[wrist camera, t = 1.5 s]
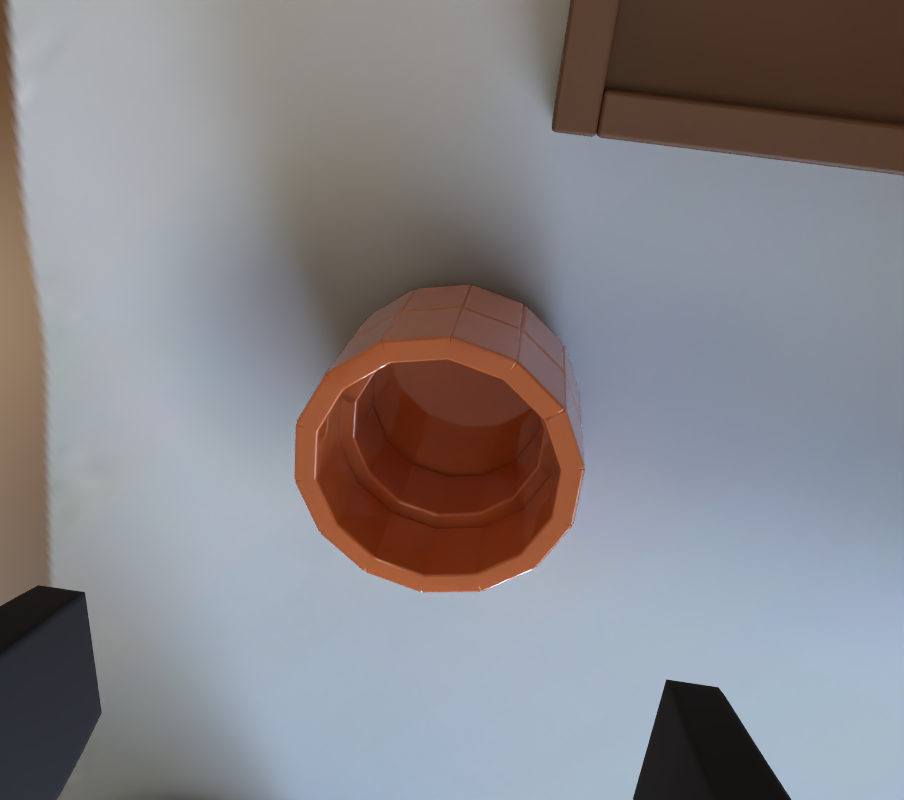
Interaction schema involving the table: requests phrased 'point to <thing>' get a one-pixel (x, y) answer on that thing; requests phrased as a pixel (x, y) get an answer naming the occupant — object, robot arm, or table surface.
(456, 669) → the table surface
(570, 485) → the flower pot
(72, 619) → the robot arm
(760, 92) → the tray
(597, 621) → the table surface
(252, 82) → the table surface
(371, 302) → the table surface
